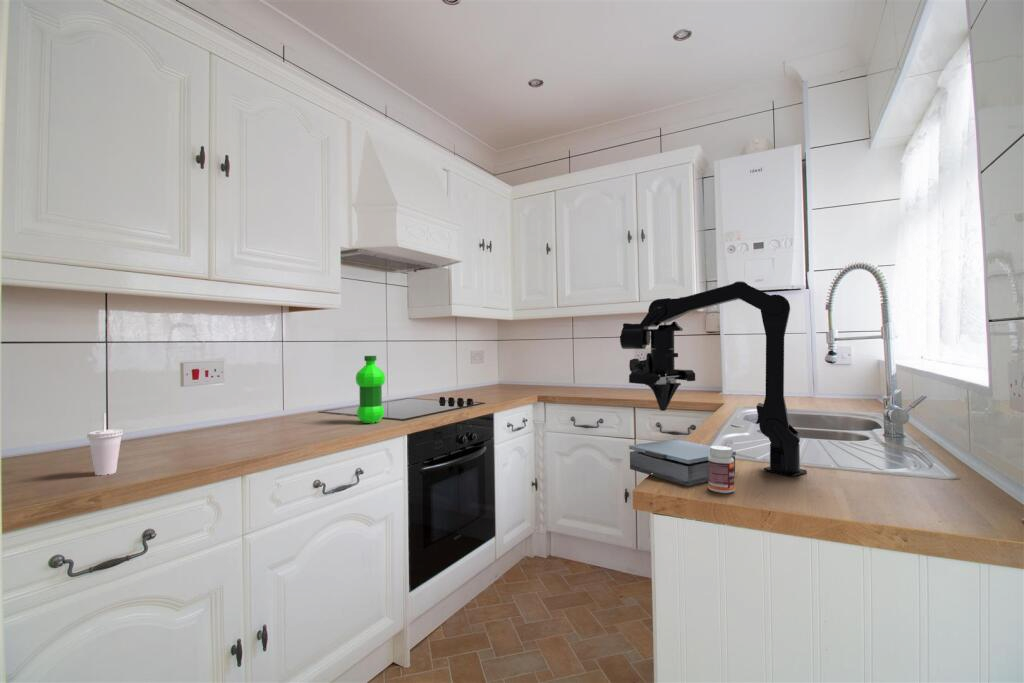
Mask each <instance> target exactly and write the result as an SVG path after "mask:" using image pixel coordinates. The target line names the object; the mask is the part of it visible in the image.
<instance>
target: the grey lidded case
mask: <svg viewBox="0 0 1024 683" xmlns="http://www.w3.org/2000/svg"><path fill="white" fill-rule="evenodd" d="M731 457H732V458H733V459H734V476H735V475H736V455H734V456H731ZM629 469H630V470H632V471H636V472H639V473H642V474H645V475H649V476H652V477H655V478H659V479H662V480H666V481H669V482H672V483H676V484H679V485H683V486H686V487H691V486H695V485H698V484H703V483H706V482H707V483H708V460H707V461H702V462H697V463H692V464H687V463H683V462H679V461H675V460H671V459H667V458H665V459H662V458H658V457H654V456H650V455H646V454H645V453H643V452H639V451H635V450H631V451H629ZM651 473H653V474H652V475H651Z"/></svg>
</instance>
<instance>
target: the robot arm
mask: <svg viewBox="0 0 1024 683" xmlns="http://www.w3.org/2000/svg"><path fill="white" fill-rule="evenodd" d="M737 300H741V301H742V302H745V303H746V304H749V305H751V306H753V307H754V308H756V309H758V310H759V311H760V314H761V320H762V325H763V329H764V332H765V397H764V400H763V403H762V402H758V403H757V405H756V406H755V407H756V413H757V420H756V422H755V425H758V426H759V430H760V432H761V433H762V435H764V436H765V437H766V438H768V439H769V442H770V443H769V466H767V467H763V470H764V471H765V472H770V473H774V474H778V475H783V476H787V477H795V476H800V475H803V474H806V473H808V470H807V469H802V468H801V465H800V464H801V463H800V462H801V461H800V460H801V459H800V458H801V457H800V452H801V451H800V439H801V438H800V437H801V434H800V433H799V432H798V430H796V428H794V427H793V426H792V425H791V423H790V419H789V418H790V417H789V414H788V409H787V404H786V400H785V399H786V398H785V335H786V331H787V327H788V322H789V317H790V313H791V306H790V302H789V300H788V299H787V298H786V297H785V296H783V295H780V294H771V295H770V294H768V293H766V292H764V291H762V290H759V289H758V288H756V287H753V286H751V285H749V284H748V283H747V282H745V281H743V280H739V281H735V282H733V283H731V284H727V285H724V286H719V287H715V288H712V289H708V290H706V291H702V292H698V293H695V294H691V295H687V296H680V297H669V298H668V297H667V298H657V299H655V300H653V301H652V302H651V303H650V304H649V306H648V308H647V309H648V310H647V311H648V312H647V314H646V315H645V316H644V318H643V319H642V320H641V321H640V323H630V322H629V323H625V322H624V323H622V329H621V333H620V335H619V342H620V346H621V349H622V350H646V348H647V346H649V345H650V352H647V353H646V357H645V358H646V359H644V360H640V359H639V358H632V359H630V360H629V364H628V366H629V371H630V374H628V384H638V385H639V384H640V385H645V386H648V388H650V389H651V390H652V392H653V394H654V396H655V399H656V403H657V405H658V408H659V411H661V412H663V411H664V412H666V411H667V408H668V406H669V404H670V403H671V400H672V399H673V397H674V395H675V393H676V391H677V390H678V388H679V386H681V385H682V384H681V382H677V380H681V381H686V382H694V381H695V382H696V373H695V372H694V370H692V369H682V368H681V369H680V368H679V369H678V368H675V358H679V353H678V352H675V332H682V331H683V330H684V329H683V328H682V327H681V325H679V324H678V322H677V321H675V320H677V319H680V318H681V317H683V316H685V315H686V314H687V315H688V314H689V313H691V312H695V311H699V310H702V309H706V308H710V307H714V306H718V305H721V304H726V303H729V302H733V301H734V302H735V301H737ZM672 321H673V322H672ZM670 322H671V324H668V323H670ZM663 323H667V324H663ZM656 327H657V328H656ZM654 328H655V329H654Z"/></svg>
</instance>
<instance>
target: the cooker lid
mask: <svg viewBox="0 0 1024 683" xmlns="http://www.w3.org/2000/svg"><path fill="white" fill-rule="evenodd" d="M711 446H712V445H707V444H706V445H705V444H700V443H696V442H691V441H685V440H682V439H676V438H674V439H667V440H659V441H658V440H657V441H652V442H646V443H639V444H630V445H628V448H629V450H631V451H639V452H643V453H645V454H646V455H650V456H654V457H658V458H662V459H665V458H667V459H671V460H675V461H679V462H683V463H687V464H692V463H697V462H702V461H707V460H708V457H709V456H711V454H710V447H711ZM736 455H737V451H735V450H732V456H736Z"/></svg>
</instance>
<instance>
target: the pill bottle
mask: <svg viewBox="0 0 1024 683" xmlns="http://www.w3.org/2000/svg"><path fill="white" fill-rule="evenodd" d="M710 446H711V447H710V454H711V456H709V457H708V481H707V484H708V486H707V487H708V489H709V490H710V491H712V492H715V493H721V494H731V493H733V492H735V475H734V459H733V458H732V457H731V456H732V451H733V448H732V447H730V446H726V445H725V446H724V445H710Z"/></svg>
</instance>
